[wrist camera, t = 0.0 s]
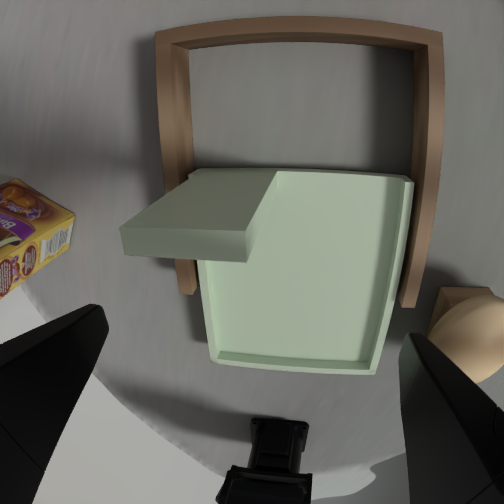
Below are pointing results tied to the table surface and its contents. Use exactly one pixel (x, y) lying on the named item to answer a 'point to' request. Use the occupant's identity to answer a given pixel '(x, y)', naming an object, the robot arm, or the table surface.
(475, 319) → the tan round disc
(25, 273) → the candy box
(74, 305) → the table surface
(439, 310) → the block
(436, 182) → the brown wooden frame
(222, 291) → the tray
